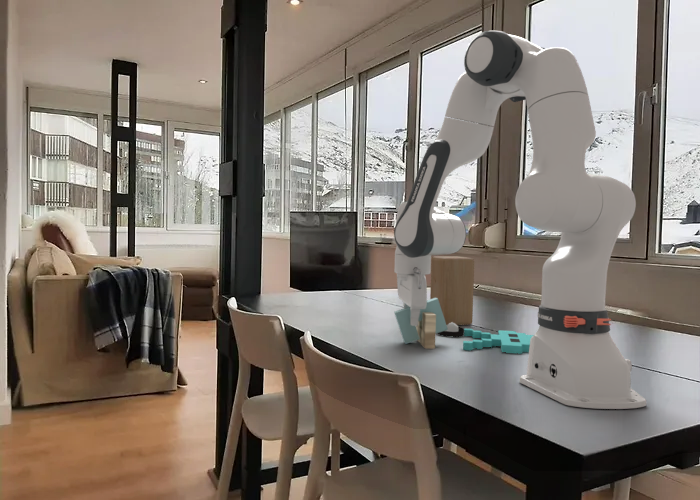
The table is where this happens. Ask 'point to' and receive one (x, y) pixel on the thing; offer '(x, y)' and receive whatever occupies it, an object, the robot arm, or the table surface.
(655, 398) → the table surface
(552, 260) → the robot arm
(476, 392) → the table surface
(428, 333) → the birch board
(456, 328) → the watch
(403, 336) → the teal plate
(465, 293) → the wooden block
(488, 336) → the alien figure
